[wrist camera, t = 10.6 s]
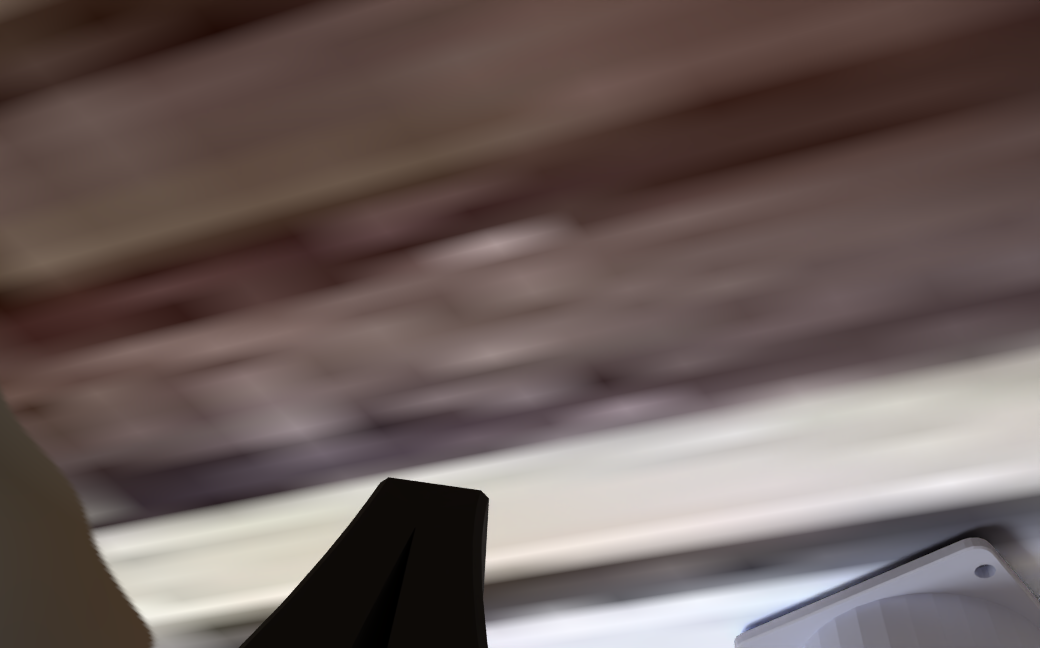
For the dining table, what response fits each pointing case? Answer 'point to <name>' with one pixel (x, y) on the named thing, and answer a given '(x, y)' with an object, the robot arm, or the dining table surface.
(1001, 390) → the dining table surface
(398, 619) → the robot arm
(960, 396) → the dining table surface
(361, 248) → the dining table surface
